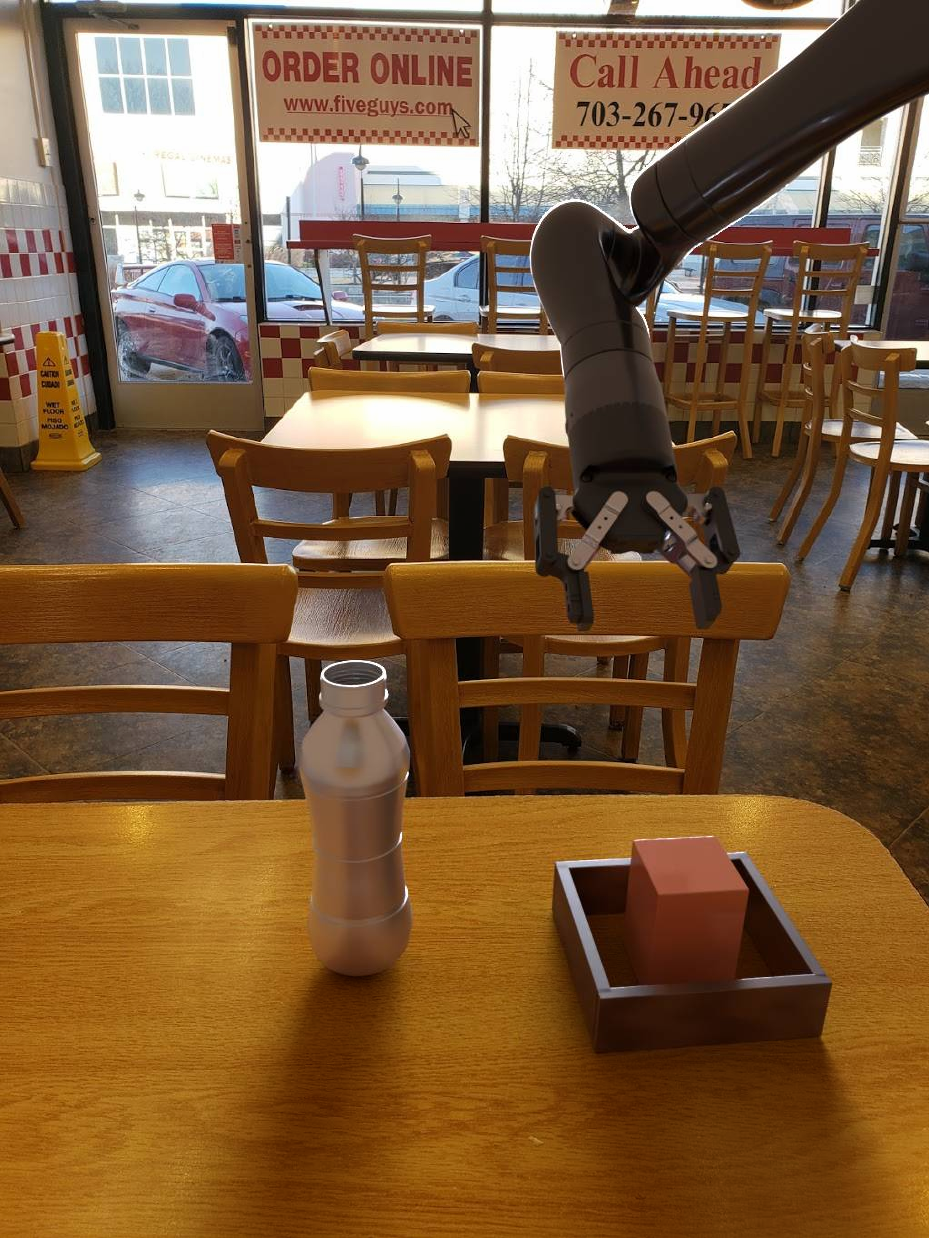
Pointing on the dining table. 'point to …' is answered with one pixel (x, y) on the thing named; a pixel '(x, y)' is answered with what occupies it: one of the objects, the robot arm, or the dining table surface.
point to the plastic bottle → (356, 823)
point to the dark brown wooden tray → (688, 1008)
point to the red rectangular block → (683, 911)
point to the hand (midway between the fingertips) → (647, 626)
